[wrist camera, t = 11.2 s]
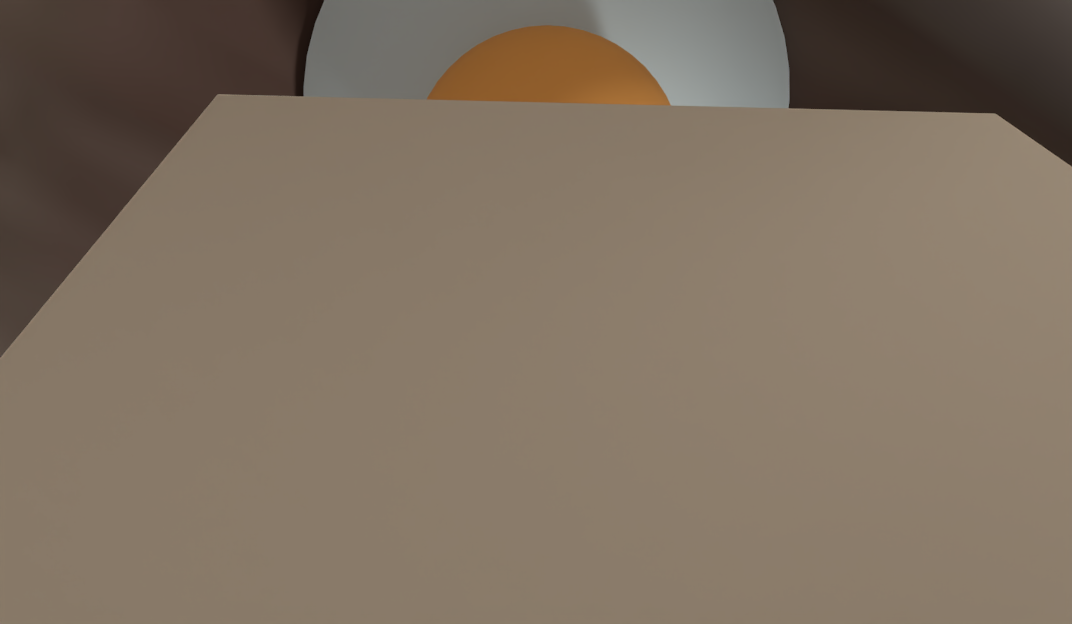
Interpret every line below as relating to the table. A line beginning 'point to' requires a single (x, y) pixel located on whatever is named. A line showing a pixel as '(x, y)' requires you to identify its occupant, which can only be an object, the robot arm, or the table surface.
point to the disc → (582, 3)
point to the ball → (549, 70)
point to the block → (555, 374)
